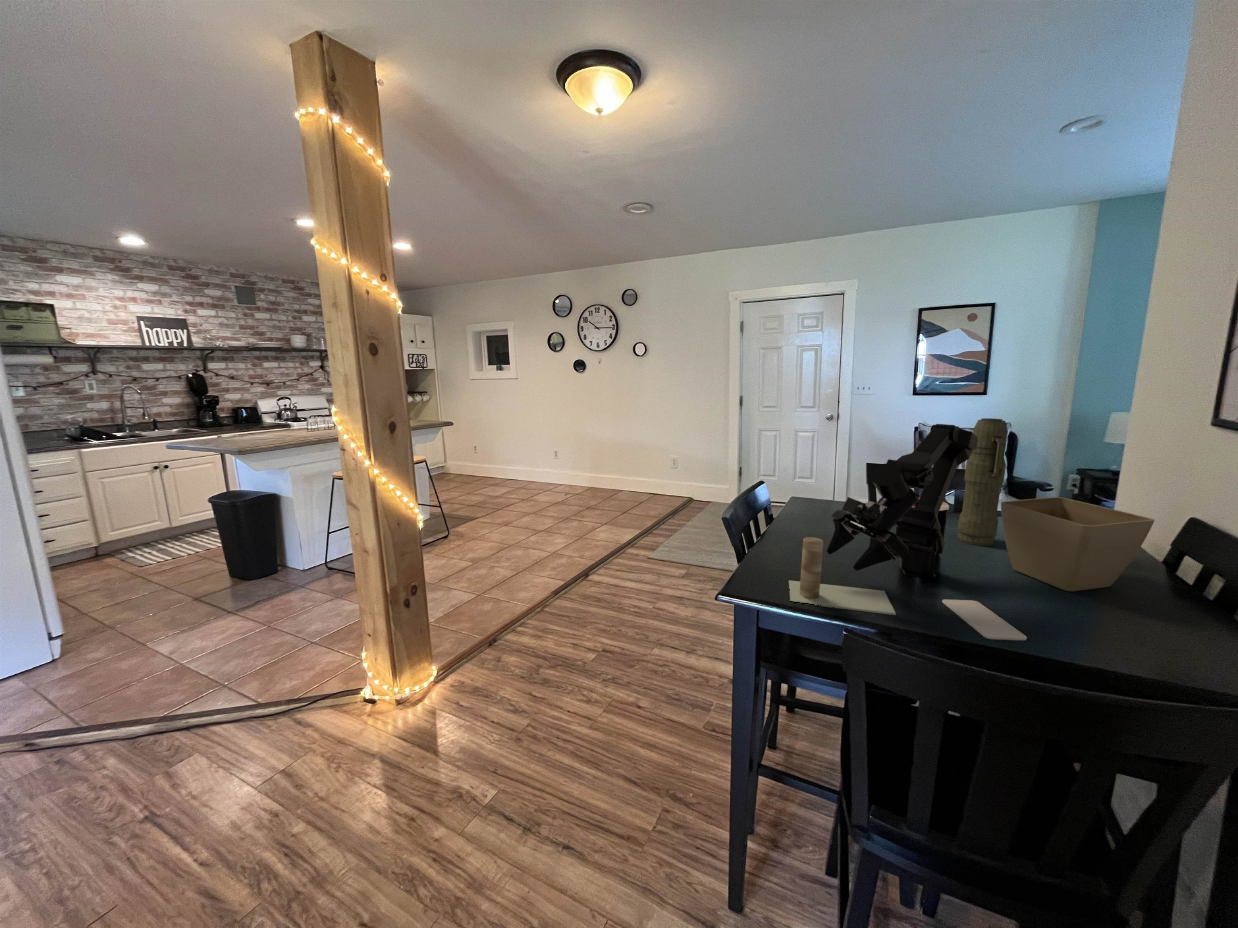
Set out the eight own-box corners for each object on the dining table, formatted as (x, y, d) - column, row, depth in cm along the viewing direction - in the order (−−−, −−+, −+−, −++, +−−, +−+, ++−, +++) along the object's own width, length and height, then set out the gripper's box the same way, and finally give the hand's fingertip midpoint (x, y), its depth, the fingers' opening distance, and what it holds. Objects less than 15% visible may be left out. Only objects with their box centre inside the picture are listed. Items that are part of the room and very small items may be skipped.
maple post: (818, 591, 106) (822, 538, 103) (819, 599, 102) (824, 544, 100) (799, 589, 107) (802, 536, 104) (799, 597, 103) (803, 542, 101)
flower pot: (1142, 591, 105) (1157, 518, 102) (1075, 601, 101) (1089, 525, 98) (1048, 559, 123) (1059, 496, 120) (989, 566, 119) (998, 501, 116)
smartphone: (976, 600, 101) (1029, 638, 87) (976, 603, 101) (1029, 642, 87) (940, 599, 102) (986, 636, 87) (939, 602, 102) (986, 640, 87)
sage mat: (884, 592, 106) (884, 590, 106) (895, 615, 96) (895, 613, 96) (788, 581, 112) (788, 580, 112) (790, 602, 102) (790, 600, 102)
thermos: (976, 533, 143) (992, 417, 136) (1006, 548, 131) (1025, 421, 124) (946, 533, 143) (960, 417, 136) (973, 548, 131) (991, 421, 125)
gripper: (841, 476, 111) (795, 524, 111) (901, 496, 93) (846, 554, 93) (868, 506, 114) (823, 553, 114) (932, 531, 96) (878, 587, 96)
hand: (840, 560), depth 104 cm, fingers open, 9 cm apart
